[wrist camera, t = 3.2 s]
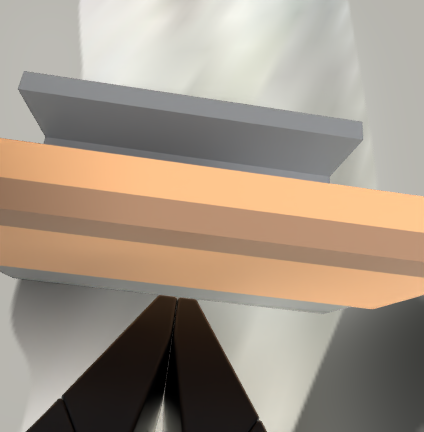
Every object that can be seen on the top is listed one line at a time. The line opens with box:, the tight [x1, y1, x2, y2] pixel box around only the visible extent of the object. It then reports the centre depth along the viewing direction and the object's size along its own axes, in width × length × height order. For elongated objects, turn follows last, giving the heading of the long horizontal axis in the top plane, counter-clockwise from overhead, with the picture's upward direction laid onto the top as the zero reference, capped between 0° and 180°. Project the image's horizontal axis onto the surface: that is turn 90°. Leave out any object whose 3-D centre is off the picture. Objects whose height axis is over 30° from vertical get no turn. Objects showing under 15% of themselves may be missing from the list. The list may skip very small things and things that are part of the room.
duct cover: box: [0, 138, 424, 309], centre depth 11 cm, size 8×16×1 cm
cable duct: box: [0, 71, 363, 314], centre depth 18 cm, size 9×16×5 cm, turn 84°
